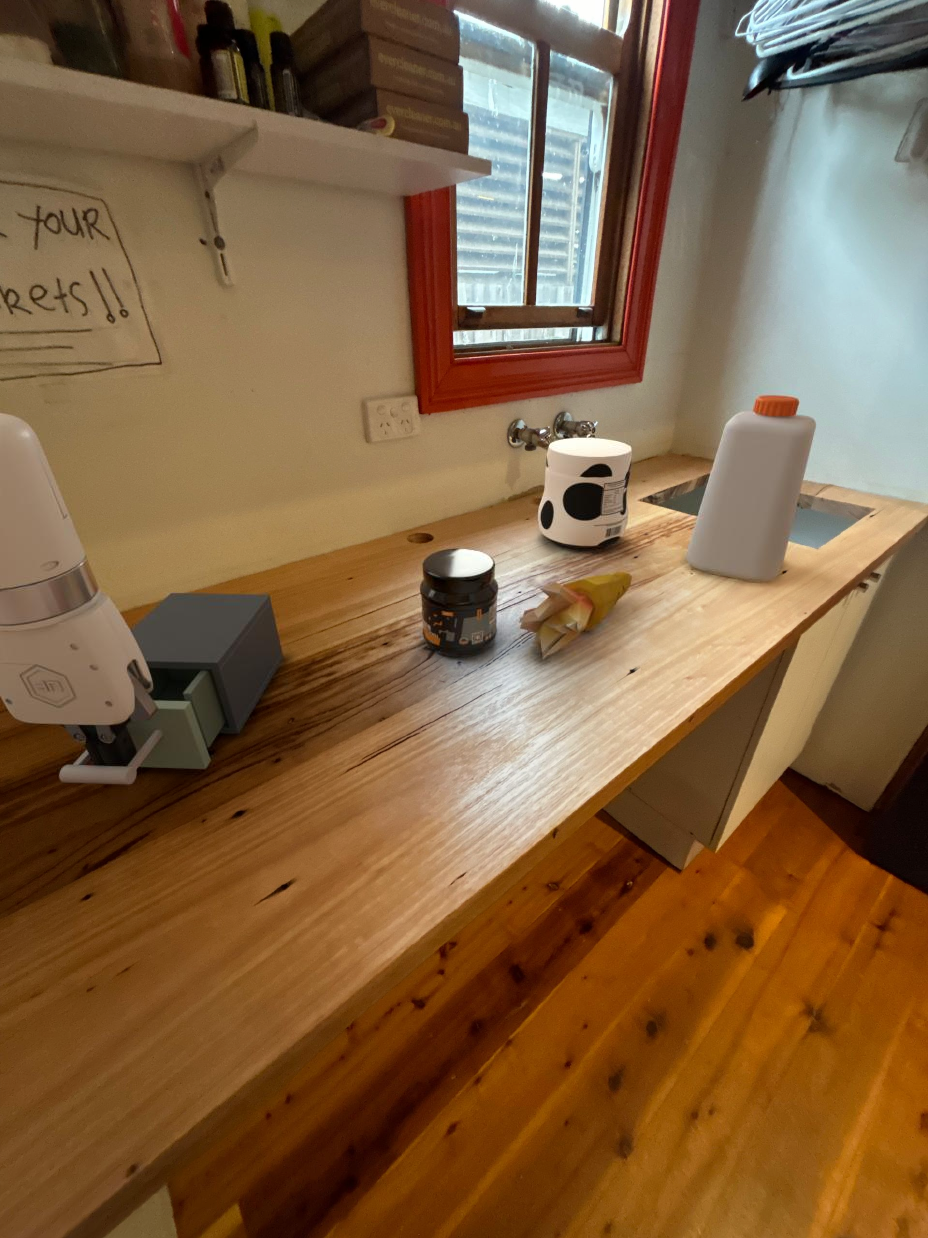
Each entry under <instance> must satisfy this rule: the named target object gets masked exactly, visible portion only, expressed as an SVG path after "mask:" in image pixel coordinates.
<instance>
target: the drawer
mask: <svg viewBox="0 0 928 1238" xmlns="http://www.w3.org/2000/svg"><path fill="white" fill-rule="evenodd" d="M148 669H149V672H150V675H151V678H152V683H153V690H152V691H151V692H149V693H148V694H149V695H150V697H151V698H152V700H153V701H154V702H155V704H156V705H157V707H158V710H157V711H156V713H155V714H154V715H153V716H152V718H151V719H150V720H148V721H143V722H138V723H128V724H127V726H126V727H127V729H128V731H129V734H130V736H131V738H132V740H133V743H134V745H135V747H136V749H137V753H136V755H135V757H134V758H133V759H132V760H131V762H130V763H129V764H128V766H127V767H124V766H95V765H94V764H93V765H91V764H90V765H88V764H87V763H88V762H90V760H92V759H91V757H90V755H89V753H88V751H87V749H86V750H85V751H84V752H83V753H82V754H81V755H80V756H79V757H78V758H77V759H76V760H75V761H74V763H73V764H66V765H64V766H62V767H61V769H60V771H59V774H58V778H59V780H60V782H61V783H69V784H70V783H73V784H99V785H131V784H133V783H134V782H135V780H136V778H137V773H138V772H137V770H138V768H157V769H159V768H160V769H161V768H162V769H191V770H193V769H194V770H206V769H207V768H208V766H209V764H210V763H211V757H210V754H209V752H208V751H209V750H208V748H211V745H213V743H214V742H215V739H216V738H217V736H218V735H219V734H220V733H219V731H220V730H221V728H222V727H223V725H224V724H225V722H226V720H227V718H226V715H225V712H224V709H223V706H222V702H221V699H220V696H219V693H218V689H217V686H216V683H215V680H214V677H213V673H212V669H171V668H148ZM84 745H85V742H84Z"/></svg>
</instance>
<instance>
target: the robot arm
mask: <svg viewBox="0 0 928 1238" xmlns="http://www.w3.org/2000/svg"><path fill="white" fill-rule="evenodd" d="M70 515H71V514H70V513H69V511H68V508H67V506H66V503H65V501H64V498H63V495H62V493H61V491H60V488H59V485H58V483H57V481H56V478H55V476H54V474H53V471H52V469H51V467H50V464H49V461H48V459H47V456H46V454H45V451H44V449H43V447H42V444H41V442H40V440H39V438H38V436H37V434H36V432H35V430H34V429H33V428H32V427H31V425H30V424H28V422H26V421H25V420H24V419H22V418H20V417H18V416H16V415H13V414H7V413H1V412H0V699H1V700H2V702H3V704H4V706H5V707H6V709H7V711H8V712H9V713H10V715H11V716H12V717H13V718H14V719H16V720H17V721H20V722H23V723H29V724H45V725H46V724H47V725H59V726H61V727H62V728H63V729H65V730H66V731H67V733H68V734H69V735H70V736H71V738H72V739H73V740H74V741H76V742H77V743H80V744H83V743H84V742H85V744H84V747H85V749H86V750H87V751H88V753H89V755H90V757H91V759H90V760H91V761H92V763H93V766H124V767H127V766H128V764H129V763H130V762H131V760H132V759H133V758H134V757H135V755H136V753H137V749H136V747H135V745H134V743H133V740H132V738H131V736H130V734H129V731H128V729H127V727H126V726H127V724H128V723H138V722H143V721H148V720H150V719H151V718H152V716H153V715H154V714H155V713H156V711H157V710H158V707H157V705H156V704H155V702H154V701H153V700H152V698H151V697H150V695H149V694H148V693H149V692H151V691H152V690H153V683H152V678H151V675H150V672H149V669H148V667H147V664H146V662H145V659H144V657H143V655H142V652H141V650H140V648H139V646H138V644H137V642H136V640H135V638H134V636H133V635H132V633H131V631H130V630H131V628H130V627H129V625H128V624H127V622H126V621H125V619H124V617H123V615H122V613H121V612H120V611H119V609H118V608H117V606H116V604H115V603H114V602H113V600H112V599H111V598H110V596H109V595H108V594H106V593H103V592H102V591H101V589H100V587H99V585H98V582H97V580H96V577H95V575H94V572H93V569H92V567H91V565H90V562H89V560H88V557H87V554H86V552H85V550H84V547H83V544H82V542H81V540H80V537H79V535H78V533H77V530H76V527H75V525H74V522H73V520H72V517H71V516H70Z"/></svg>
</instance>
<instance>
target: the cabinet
mask: <svg viewBox="0 0 928 1238" xmlns="http://www.w3.org/2000/svg"><path fill="white" fill-rule="evenodd" d="M130 631H131V633H132V635H133V636H134V638H135V640H136V642H137V644H138V646H139V648H140V650H141V652H142V655H143V657H144V659H145V662H146V664H147V667H148V668H171V669H212V673H213V677H214V680H215V683H216V686H217V689H218V693H219V696H220V699H221V702H222V706H223V709H224V712H225V715H226V718H227V720H226V722H225V724H224V725H223V727H222V728H221V730H220V731H219V733H218V734H225V735H226V734H228V735H239V734H240V733H241V731H242V729H243V728H244V726H245V724H246V723H247V721H248V719H249V717H250V715H251V714H252V712H253V710H254V709H255V707H256V705H257V704H258V702H259V700H260V699H261V697H262V696H263V694H264V692H265V691H266V689H267V687H268V686H269V684H270V682H271V680H272V678H273V677H274V676H275V674H276V672H277V671H278V668H279V667H280V665H281V664H282V661H283V660H284V654H283V650H282V645H281V640H280V636H279V631H278V627H277V622H276V617H275V613H274V608H273V604H272V600H271V595H270V594H263V593H261V594H258V593H255V594H254V593H202V592H201V593H199V592H197V593H196V592H193V593H191V592H170V593H169V594H168V595H167V596H166V597H165V598H164V599H162V601H161V602H159V604H157V605H156V606H155V607H154V608H153V609H152V610H151V611H150V612H148V613H147V614H146V615H145V616H144V617H143V618H141V620H139V622H137V623H136V624H135V625H134V626H133V627H132V628H130Z"/></svg>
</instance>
